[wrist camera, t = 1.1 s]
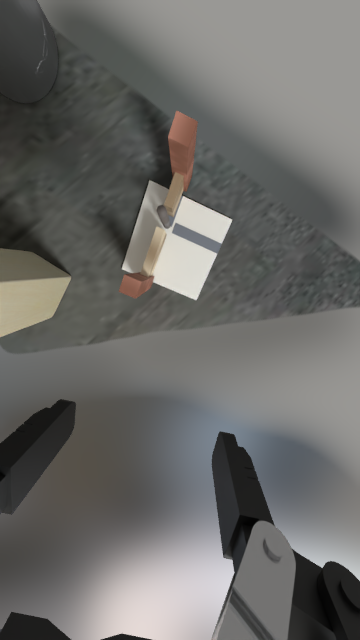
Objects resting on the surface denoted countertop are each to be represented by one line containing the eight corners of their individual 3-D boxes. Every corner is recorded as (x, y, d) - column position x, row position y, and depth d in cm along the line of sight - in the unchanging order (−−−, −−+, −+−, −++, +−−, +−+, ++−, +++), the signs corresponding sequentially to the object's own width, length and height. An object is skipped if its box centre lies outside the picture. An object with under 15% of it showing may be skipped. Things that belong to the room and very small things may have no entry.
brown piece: (159, 226, 25) (146, 203, 16) (178, 171, 24) (176, 110, 14) (171, 231, 26) (165, 212, 16) (191, 178, 24) (197, 121, 14)
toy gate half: (157, 230, 25) (144, 211, 16) (169, 235, 25) (163, 220, 16) (139, 283, 27) (118, 291, 18) (150, 287, 27) (135, 298, 19)
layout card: (122, 268, 27) (121, 269, 27) (150, 181, 24) (149, 179, 24) (196, 299, 28) (196, 300, 28) (231, 220, 25) (232, 219, 25)
